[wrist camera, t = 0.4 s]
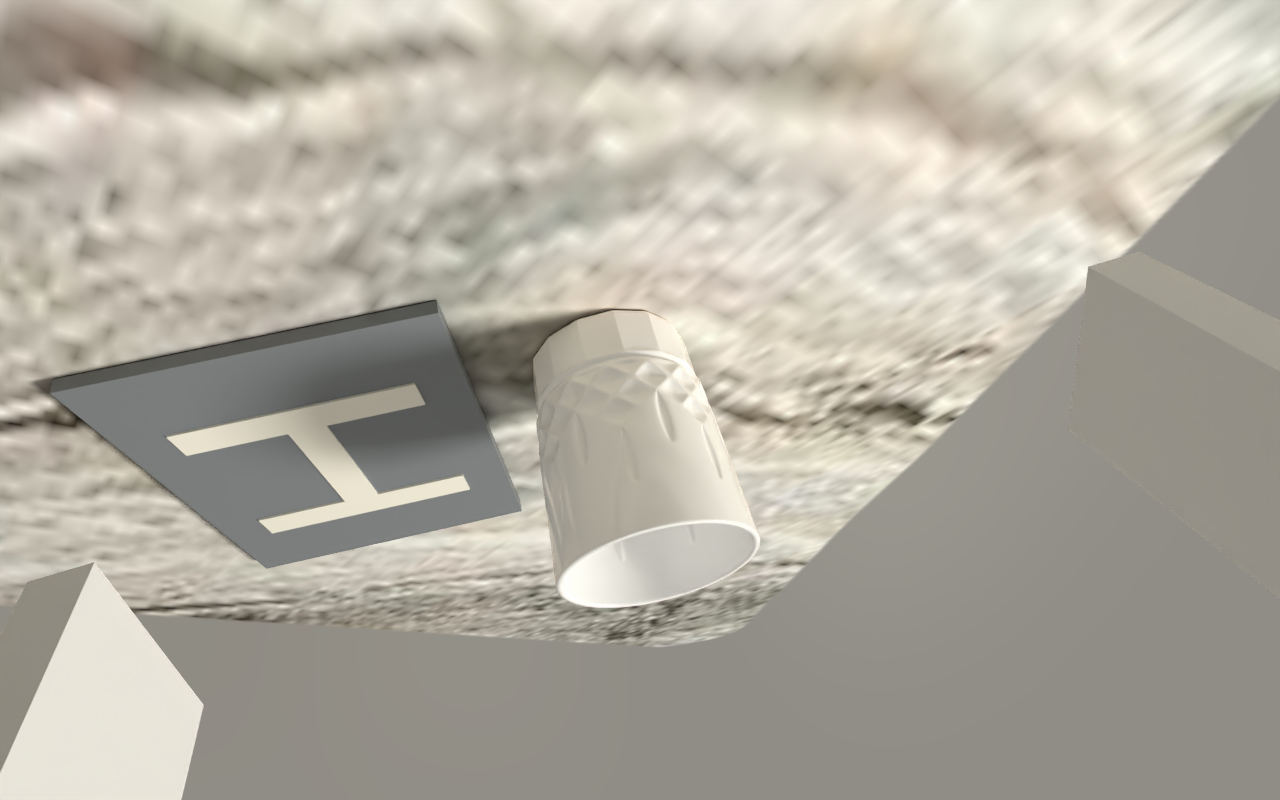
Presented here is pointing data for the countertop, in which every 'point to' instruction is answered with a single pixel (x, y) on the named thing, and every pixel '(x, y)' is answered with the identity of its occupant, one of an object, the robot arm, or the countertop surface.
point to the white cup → (634, 465)
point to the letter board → (309, 433)
